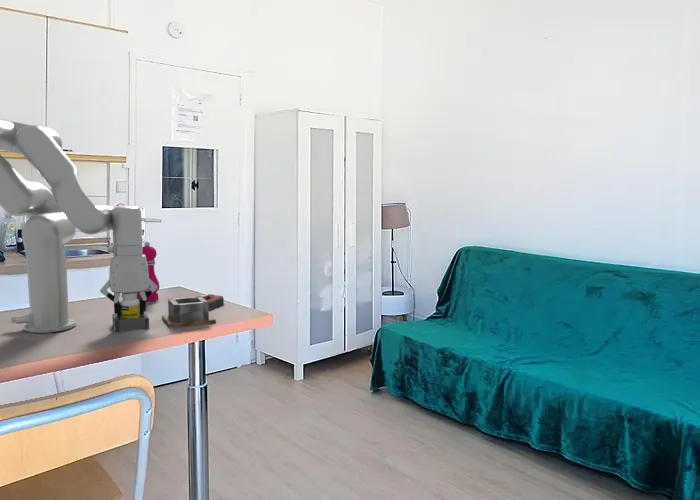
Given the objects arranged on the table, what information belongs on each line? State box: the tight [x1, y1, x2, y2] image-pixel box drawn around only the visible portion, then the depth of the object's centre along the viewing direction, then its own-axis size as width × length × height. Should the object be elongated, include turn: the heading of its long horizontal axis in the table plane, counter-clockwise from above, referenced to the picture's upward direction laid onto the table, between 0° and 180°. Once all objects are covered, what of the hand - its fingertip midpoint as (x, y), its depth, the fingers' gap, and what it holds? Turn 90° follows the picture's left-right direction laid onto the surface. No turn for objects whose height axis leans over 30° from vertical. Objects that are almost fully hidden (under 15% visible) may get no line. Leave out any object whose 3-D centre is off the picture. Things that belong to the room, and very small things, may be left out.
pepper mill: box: [142, 241, 160, 302], centre depth 195 cm, size 7×7×20 cm
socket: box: [161, 295, 217, 329], centre depth 168 cm, size 13×12×6 cm
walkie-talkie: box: [199, 293, 225, 311], centre depth 184 cm, size 9×4×20 cm
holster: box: [111, 311, 150, 333], centre depth 161 cm, size 9×9×3 cm
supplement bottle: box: [119, 292, 141, 320], centre depth 160 cm, size 5×5×10 cm
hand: (130, 314), depth 161 cm, fingers closed on supplement bottle, 5 cm apart
